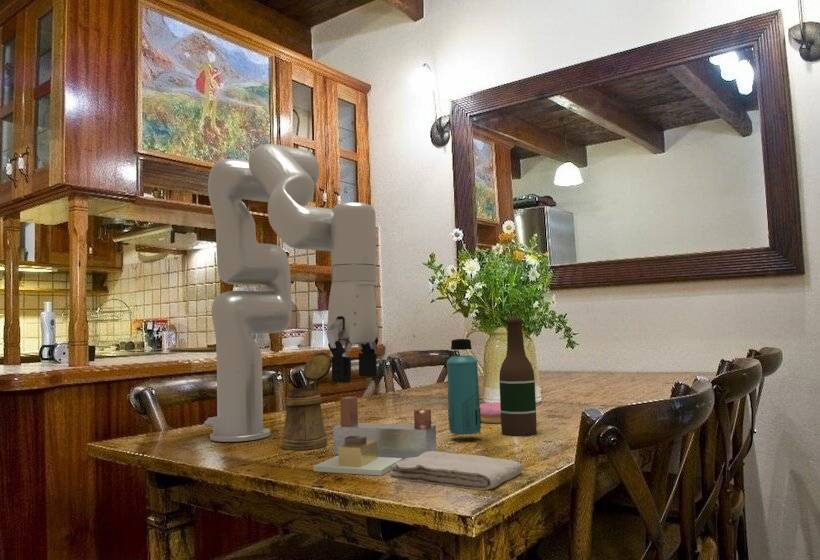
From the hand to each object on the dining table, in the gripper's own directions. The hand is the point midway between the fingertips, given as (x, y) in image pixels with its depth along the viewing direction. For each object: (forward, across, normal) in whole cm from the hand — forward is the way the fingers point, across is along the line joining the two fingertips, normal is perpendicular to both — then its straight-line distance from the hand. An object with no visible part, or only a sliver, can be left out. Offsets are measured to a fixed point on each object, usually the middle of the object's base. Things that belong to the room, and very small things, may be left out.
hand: (355, 379), depth 105 cm
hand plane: (+14, -10, +1) cm, 18 cm away
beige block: (+14, 0, +1) cm, 14 cm away
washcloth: (+15, +2, +18) cm, 23 cm away
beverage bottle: (+15, -27, +11) cm, 33 cm away
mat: (+14, 0, +1) cm, 14 cm away
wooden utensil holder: (+15, -16, -18) cm, 29 cm away
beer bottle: (+15, -36, +20) cm, 44 cm away
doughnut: (+15, -52, +11) cm, 55 cm away
